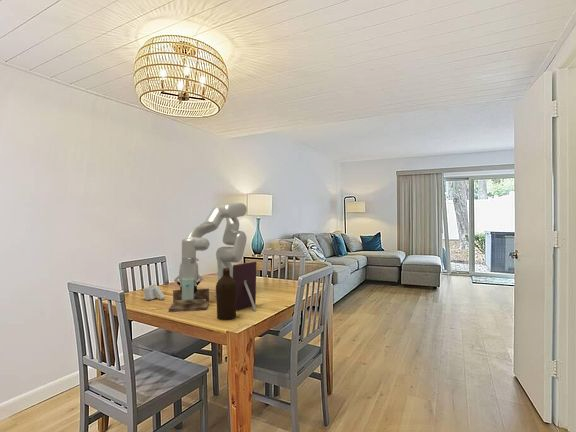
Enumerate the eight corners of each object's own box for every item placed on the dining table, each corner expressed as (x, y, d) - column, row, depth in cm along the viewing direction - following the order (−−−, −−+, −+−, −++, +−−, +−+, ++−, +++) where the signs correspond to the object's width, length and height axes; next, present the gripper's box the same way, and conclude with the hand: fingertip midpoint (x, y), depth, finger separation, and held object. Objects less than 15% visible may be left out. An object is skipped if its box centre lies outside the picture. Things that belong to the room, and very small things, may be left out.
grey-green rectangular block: (195, 295, 182) (195, 276, 182) (193, 299, 173) (193, 279, 173) (184, 296, 181) (184, 276, 181) (181, 300, 172) (181, 279, 173)
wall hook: (161, 300, 192) (157, 284, 193) (146, 303, 194) (142, 287, 195) (169, 297, 200) (165, 281, 201) (154, 300, 202) (151, 284, 203)
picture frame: (254, 304, 185) (253, 261, 185) (266, 307, 179) (266, 262, 179) (231, 311, 173) (231, 264, 172) (244, 315, 166) (244, 266, 166)
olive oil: (239, 318, 160) (239, 268, 160) (218, 321, 156) (218, 270, 156) (234, 312, 170) (234, 265, 170) (214, 315, 166) (213, 267, 166)
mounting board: (209, 303, 189) (209, 288, 189) (206, 310, 175) (206, 294, 175) (173, 304, 186) (173, 290, 186) (168, 311, 172) (168, 296, 172)
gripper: (205, 259, 183) (205, 291, 183) (173, 260, 180) (173, 292, 180) (204, 261, 176) (204, 294, 175) (171, 262, 173) (171, 295, 173)
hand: (188, 293), depth 178 cm, fingers closed on grey-green rectangular block, 6 cm apart
